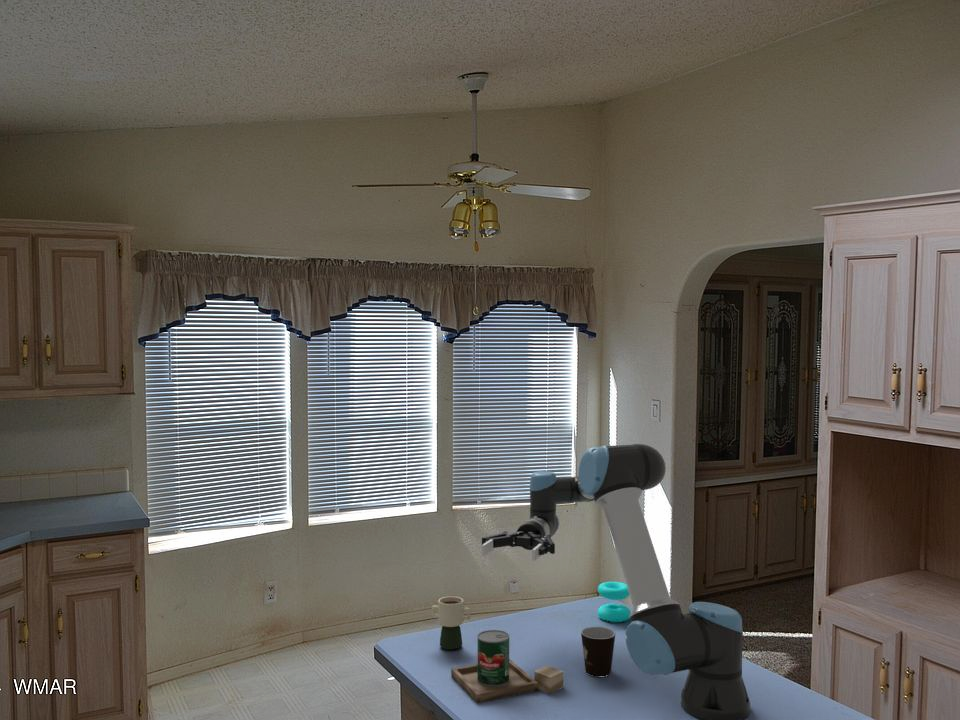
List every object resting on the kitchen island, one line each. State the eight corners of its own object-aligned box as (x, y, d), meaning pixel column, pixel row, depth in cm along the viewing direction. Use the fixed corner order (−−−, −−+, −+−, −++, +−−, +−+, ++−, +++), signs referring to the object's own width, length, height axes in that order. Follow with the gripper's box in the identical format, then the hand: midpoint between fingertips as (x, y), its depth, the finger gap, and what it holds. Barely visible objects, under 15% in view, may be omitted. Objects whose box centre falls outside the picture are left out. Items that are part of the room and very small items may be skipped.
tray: (538, 690, 192) (538, 682, 191) (476, 702, 185) (476, 694, 185) (509, 666, 206) (509, 658, 206) (451, 676, 200) (451, 668, 200)
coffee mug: (614, 680, 198) (614, 640, 197) (579, 677, 199) (579, 637, 199) (616, 662, 209) (616, 624, 209) (583, 659, 211) (583, 621, 210)
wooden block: (563, 687, 194) (563, 671, 194) (550, 694, 190) (550, 677, 190) (547, 681, 197) (547, 665, 197) (534, 687, 194) (534, 671, 194)
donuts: (591, 585, 242) (610, 578, 249) (591, 618, 242) (609, 610, 250) (619, 592, 235) (637, 585, 242) (618, 626, 235) (637, 617, 243)
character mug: (473, 644, 221) (473, 597, 221) (467, 653, 214) (467, 605, 214) (435, 641, 224) (435, 594, 223) (428, 650, 217) (428, 602, 217)
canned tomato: (480, 688, 191) (479, 642, 191) (475, 674, 199) (474, 630, 199) (512, 685, 192) (512, 640, 192) (506, 672, 200) (506, 628, 200)
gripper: (490, 517, 228) (462, 534, 208) (576, 523, 219) (555, 542, 200) (491, 543, 228) (462, 563, 209) (576, 550, 219) (555, 572, 200)
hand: (507, 552), depth 204 cm, fingers open, 13 cm apart
